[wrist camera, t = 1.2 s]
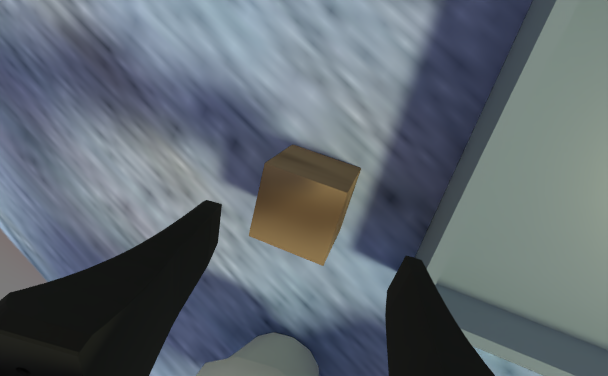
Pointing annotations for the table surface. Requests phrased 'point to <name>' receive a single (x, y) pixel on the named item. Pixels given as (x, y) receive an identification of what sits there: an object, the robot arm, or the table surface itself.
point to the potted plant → (266, 359)
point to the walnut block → (303, 202)
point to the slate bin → (534, 202)
